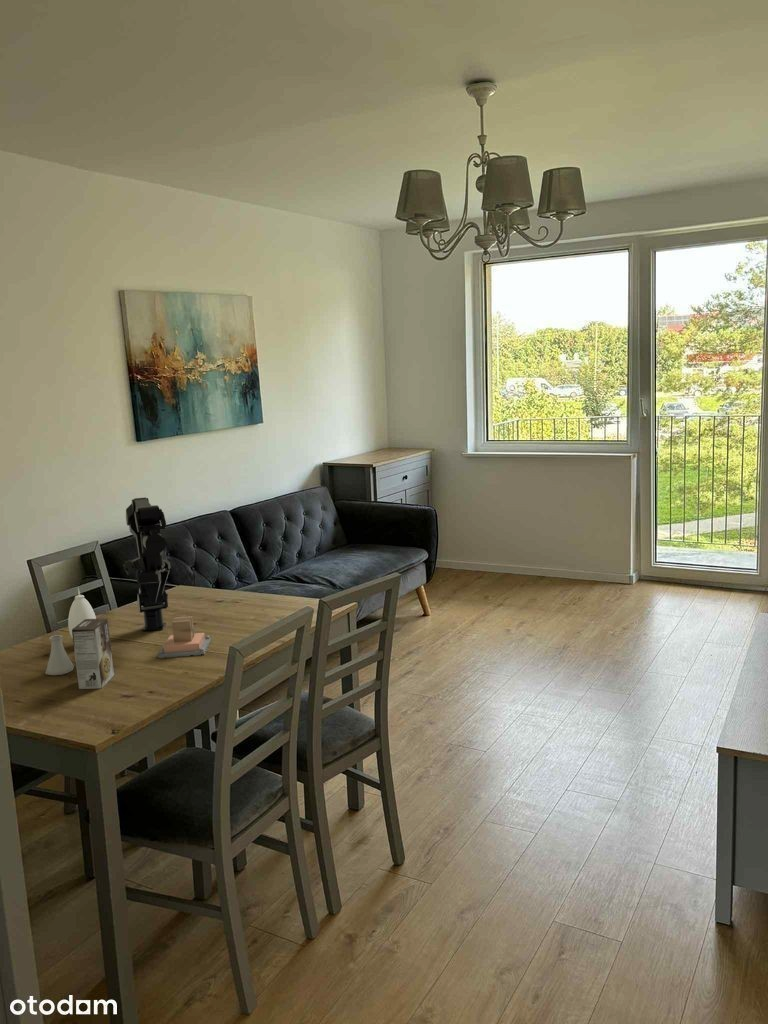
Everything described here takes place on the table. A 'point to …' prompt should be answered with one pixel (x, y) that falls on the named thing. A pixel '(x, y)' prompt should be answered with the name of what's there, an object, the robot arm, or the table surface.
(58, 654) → the flask
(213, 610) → the table surface
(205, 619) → the table surface
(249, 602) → the table surface
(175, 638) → the tan wooden block
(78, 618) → the sauce bottle
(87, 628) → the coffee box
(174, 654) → the brick base
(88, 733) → the table surface
